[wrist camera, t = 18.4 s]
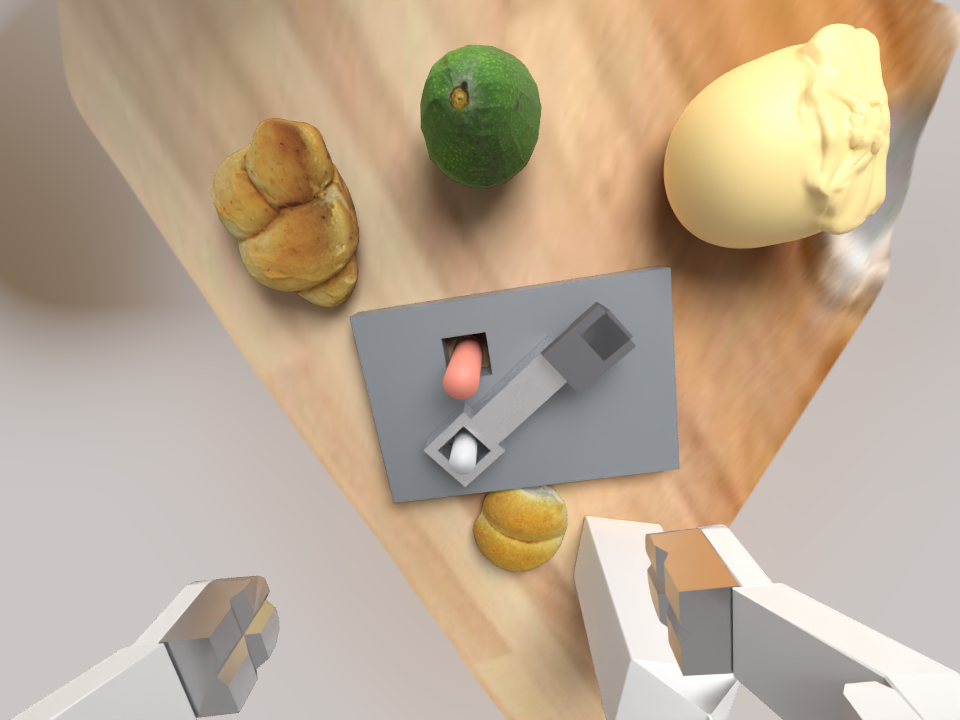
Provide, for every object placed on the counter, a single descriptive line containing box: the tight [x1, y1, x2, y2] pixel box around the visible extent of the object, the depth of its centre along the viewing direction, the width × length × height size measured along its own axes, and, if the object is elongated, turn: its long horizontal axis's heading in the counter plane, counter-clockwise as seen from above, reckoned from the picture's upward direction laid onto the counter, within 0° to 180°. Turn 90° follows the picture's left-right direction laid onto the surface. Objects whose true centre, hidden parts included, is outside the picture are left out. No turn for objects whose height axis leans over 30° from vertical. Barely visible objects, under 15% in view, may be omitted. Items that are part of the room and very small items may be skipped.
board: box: [350, 266, 680, 503], centre depth 35 cm, size 17×25×7 cm
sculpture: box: [664, 24, 890, 248], centre depth 28 cm, size 12×12×11 cm
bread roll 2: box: [474, 485, 568, 572], centre depth 41 cm, size 8×9×4 cm
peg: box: [443, 336, 483, 400], centre depth 34 cm, size 2×2×9 cm
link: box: [423, 335, 567, 487], centre depth 35 cm, size 13×5×2 cm, turn 136°
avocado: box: [421, 45, 541, 188], centre depth 28 cm, size 8×8×12 cm
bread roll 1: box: [210, 118, 359, 307], centre depth 32 cm, size 13×10×8 cm
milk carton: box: [574, 516, 740, 720], centre depth 34 cm, size 7×7×19 cm
